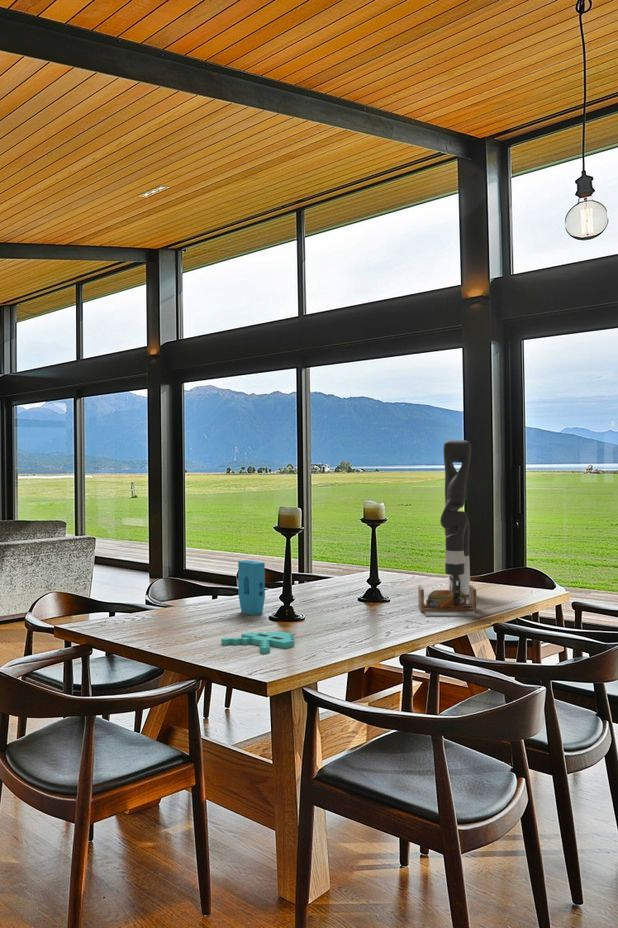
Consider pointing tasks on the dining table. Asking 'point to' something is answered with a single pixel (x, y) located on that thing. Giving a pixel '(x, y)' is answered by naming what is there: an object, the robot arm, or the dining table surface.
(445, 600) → the tin
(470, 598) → the rack
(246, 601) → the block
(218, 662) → the dining table surface
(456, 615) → the felt mat
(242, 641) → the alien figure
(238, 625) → the dining table surface
